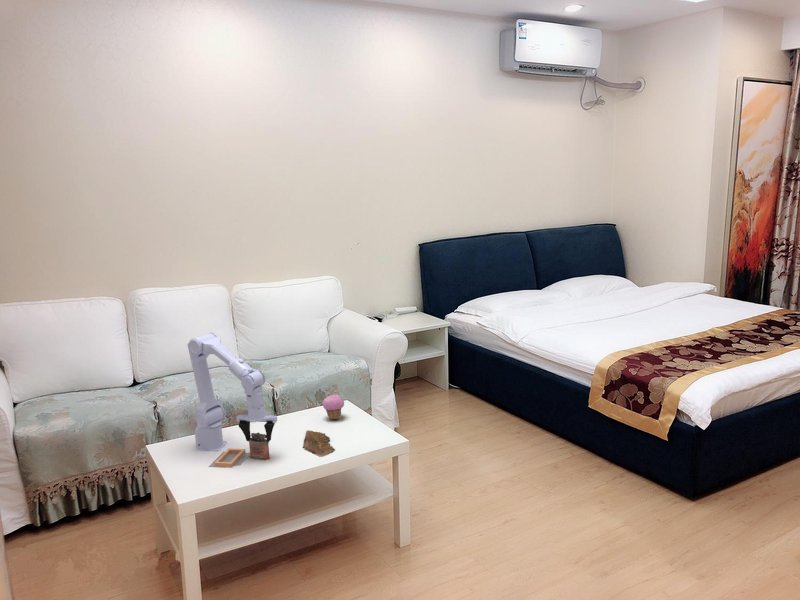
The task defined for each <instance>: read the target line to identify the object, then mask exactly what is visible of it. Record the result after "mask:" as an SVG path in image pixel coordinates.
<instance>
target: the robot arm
mask: <svg viewBox="0 0 800 600" xmlns="http://www.w3.org/2000/svg"><path fill="white" fill-rule="evenodd" d="M188 341H189V342H188V343H187V349H188V353H189V357H190V359H189V360H190V362H191V367H192V373H193V376H194V380H195V385H196V388H197V389H196V390H197V393H198V399H199V403H198V404H197V406H196V407H195V421H196V424H197V425H196V428H195V430H194V439H195V446H196V448H195V451H204V452H219V451H220V450H222V449H223V448H224V447H225V446H226V444H228V441H225V440H224V438H223V437H224V435H223V428H222V423H223V420H224V419H225V418H226V411H225V409H224V406H223V405H222V401H220V400H218V399H217V398H216V397H215V393H214V388H213V384H212V379H211V374H210V370H209V365H208V361H207V358H208V357H209V356H210V355H214V356H215V357H217V358H218V359H219V360H220V361H222V362H224V363H225V364H226V365H227V366H228V370H229V372H230V373H232V374H233V375H234V376H235V377H236V378H237V379H238V380H239V381H240V384H241V386H242V389H243V390H244V393H245V395H246V396H245V397H246V404H247V405H246V407H247V414H238V415H237V416H236V422H237V423H238V428H239V429H240V430H241V431H242V433H243V435H244V437H245V440H246V442H249V440H250V439H251V438H252V437H251V423H257V422H258V423H265V424H264V425H263V426H264V427H263V428H264V431H265V435H266V439H267V442H269V443H270V441H271V440H272V435H273V434H272V433H273V430H274V426H275V425H276V423H277V422H278V416H277V415H271V414H266V413H265V404H264V392H263V385H264V384H265V382H266V377H265V375H264V373H263V372H262V370H261V369H255V368H253V367H251V366H250V365H249V364H248V363H247V362H245V360H244V359H243V358H239V357H238V358H236V357H235V356H234V355H233V354H232V353H231V352H230V351H229V350H228V349H227V347H225V346H224V345H223V344H222V340H221V337H220V336H218V335H217V334H216V333H215V332H209V333H207V334H203V335H200V336H197V337H193V338H191V339H190V340H188Z"/></svg>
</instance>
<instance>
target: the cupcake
mask: <svg viewBox="0 0 800 600" xmlns="http://www.w3.org/2000/svg"><path fill="white" fill-rule="evenodd" d="M344 406H345V400H344V398H343V397H341V396H340V394H331V395H328V396H327V397H326V398H324V399H323V401H322V407H323V408H324V410H325V411H326V414H327V417H328V419H329V420H339V419H340V417H341V416H342V408H343V407H344Z"/></svg>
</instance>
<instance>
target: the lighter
mask: <svg viewBox="0 0 800 600" xmlns="http://www.w3.org/2000/svg"><path fill="white" fill-rule="evenodd" d="M250 435H251V439H250V440H249V441H248V444H249V447H248V448H249V453H250V456H249V458H250V459H253V460H257V461H269V460H270V458H271V457H270V447H269V444H270V441H269V442H267V438H266V433H264V434H263V433H260V432H252V433H250Z"/></svg>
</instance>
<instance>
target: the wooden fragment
mask: <svg viewBox="0 0 800 600" xmlns="http://www.w3.org/2000/svg"><path fill="white" fill-rule="evenodd" d="M330 440H331V439H330V436H328V435H326V433H323V432H321V431H313V430H310V429H309V430H306V432H305V437H304V439H303V445H302V448H303V449H304V450H305V451H307V452H309V453H311V454H314V455H316V456H318V457H320V458H322V457H326V456H329V455H330V454H331V453H333V452H334V451H335V450H336V448H334V447H333V446H332V445H331V443H329V441H330Z"/></svg>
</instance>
